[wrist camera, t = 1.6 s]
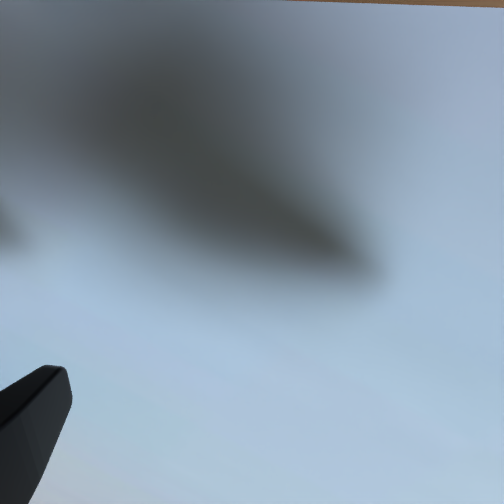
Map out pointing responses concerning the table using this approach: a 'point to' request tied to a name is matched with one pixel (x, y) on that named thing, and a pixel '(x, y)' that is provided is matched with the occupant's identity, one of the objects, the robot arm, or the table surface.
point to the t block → (427, 2)
